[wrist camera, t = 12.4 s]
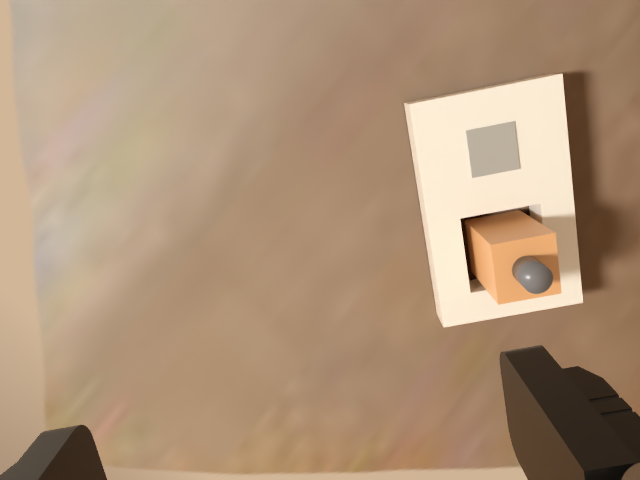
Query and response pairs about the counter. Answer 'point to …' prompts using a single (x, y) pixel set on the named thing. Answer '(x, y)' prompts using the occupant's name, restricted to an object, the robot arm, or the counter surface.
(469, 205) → the power strip
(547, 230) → the block
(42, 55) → the counter surface
